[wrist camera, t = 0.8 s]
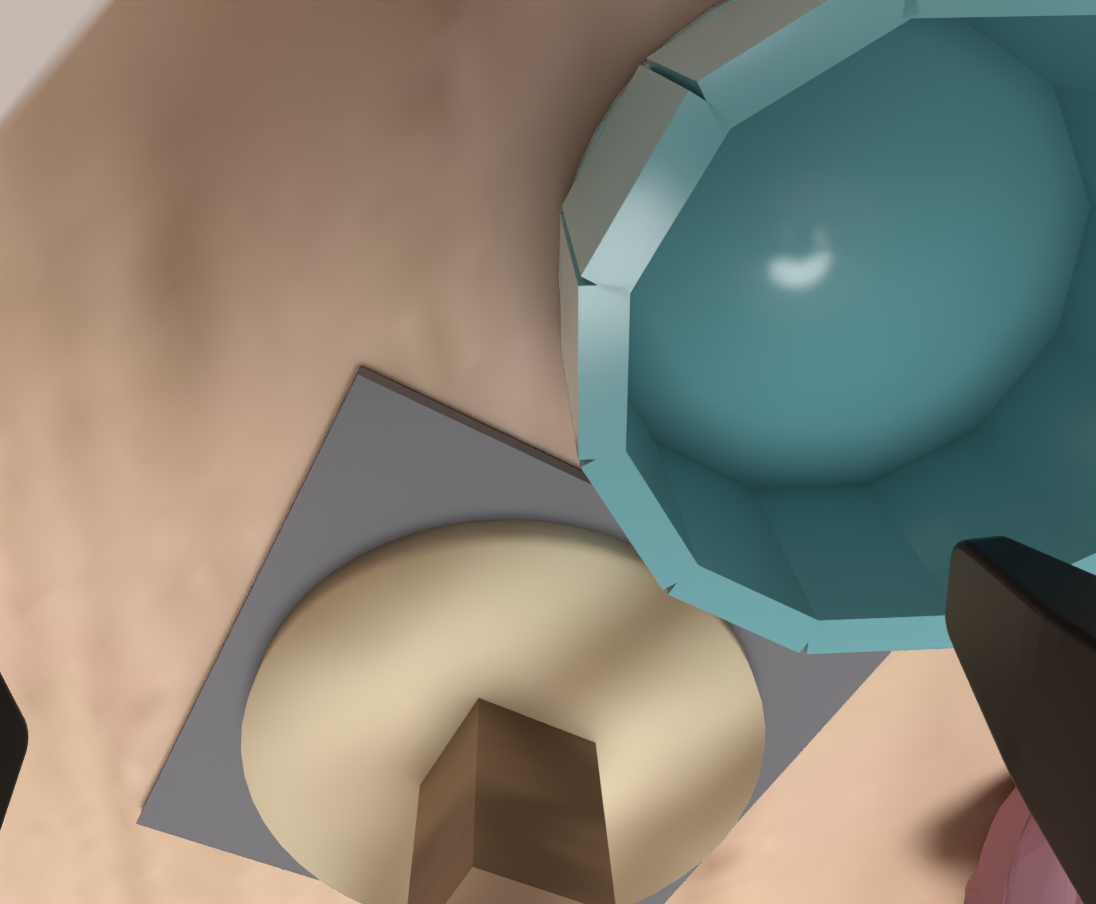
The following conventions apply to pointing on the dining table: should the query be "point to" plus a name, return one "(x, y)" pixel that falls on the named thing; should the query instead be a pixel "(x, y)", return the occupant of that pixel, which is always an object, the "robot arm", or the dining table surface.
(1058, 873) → the purple toy car
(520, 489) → the mat
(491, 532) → the lid
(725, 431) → the bowl
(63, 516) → the dining table surface
